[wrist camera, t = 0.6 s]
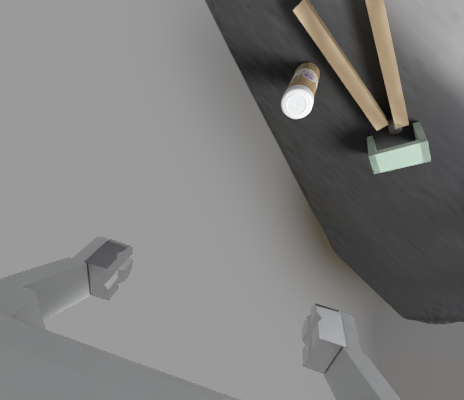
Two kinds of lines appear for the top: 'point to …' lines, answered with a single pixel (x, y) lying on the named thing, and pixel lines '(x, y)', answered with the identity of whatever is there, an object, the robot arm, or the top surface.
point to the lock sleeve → (400, 153)
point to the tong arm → (340, 63)
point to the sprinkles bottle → (301, 91)
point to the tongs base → (387, 64)
